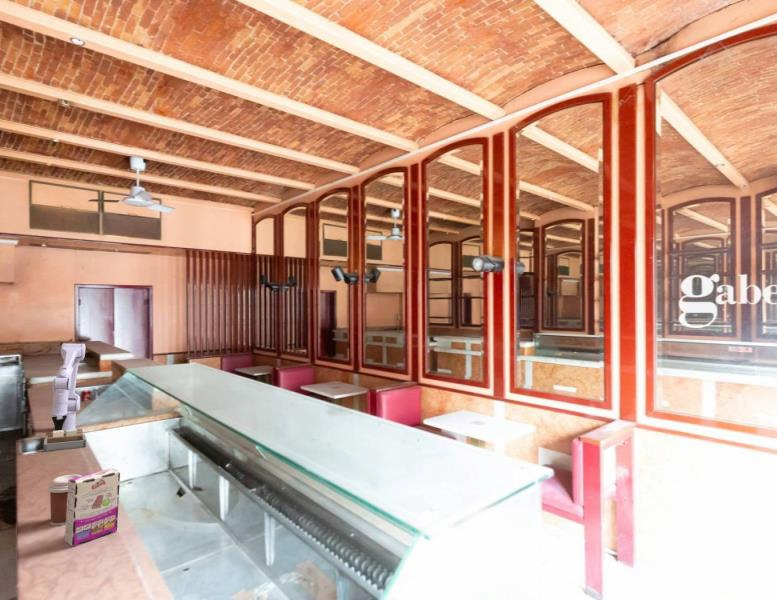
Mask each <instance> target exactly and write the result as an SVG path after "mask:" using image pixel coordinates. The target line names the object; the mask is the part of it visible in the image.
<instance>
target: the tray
mask: <svg viewBox="0 0 777 600" xmlns="http://www.w3.org/2000/svg"><path fill="white" fill-rule="evenodd" d="M81 448H87V439H86V434H84V433H83V435H82V440H78V441H68V442H59V443H49V444H47V438H46V437H45V438H44V440H43V452H44V453H45V452H54V451H55V450H56V451H65V450H72V449H81ZM56 451H55V452H56Z"/></svg>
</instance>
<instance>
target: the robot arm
mask: <svg viewBox="0 0 777 600" xmlns="http://www.w3.org/2000/svg"><path fill="white" fill-rule="evenodd" d="M86 348H87V347H86V344H85V343H65V342H64V343H62V344H61V346H60V355H61V358H62V360H63V364H62V365H61V366H59V368H58V371H57V374H56V377H55V378H54V379H53V381H52V394H53V396H52V397H53V398H52V411H51V412H48V415H50V416H51V415H52V417H51V420H52V422H53V425H54V431H58V430H64V431H66V430H69V429H77V427H76V419H77V418H76V414H77V412H79V411H80V409H81V397H80V395H79V394H77V393H76V386H77V378H78V370H79V365H80V362H81V361H84V358H85V355H86Z"/></svg>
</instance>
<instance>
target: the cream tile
mask: <svg viewBox="0 0 777 600" xmlns="http://www.w3.org/2000/svg"><path fill="white" fill-rule="evenodd" d="M52 432H53V437H60V436H64V430H58V431H55V430H53V431H52Z"/></svg>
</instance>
